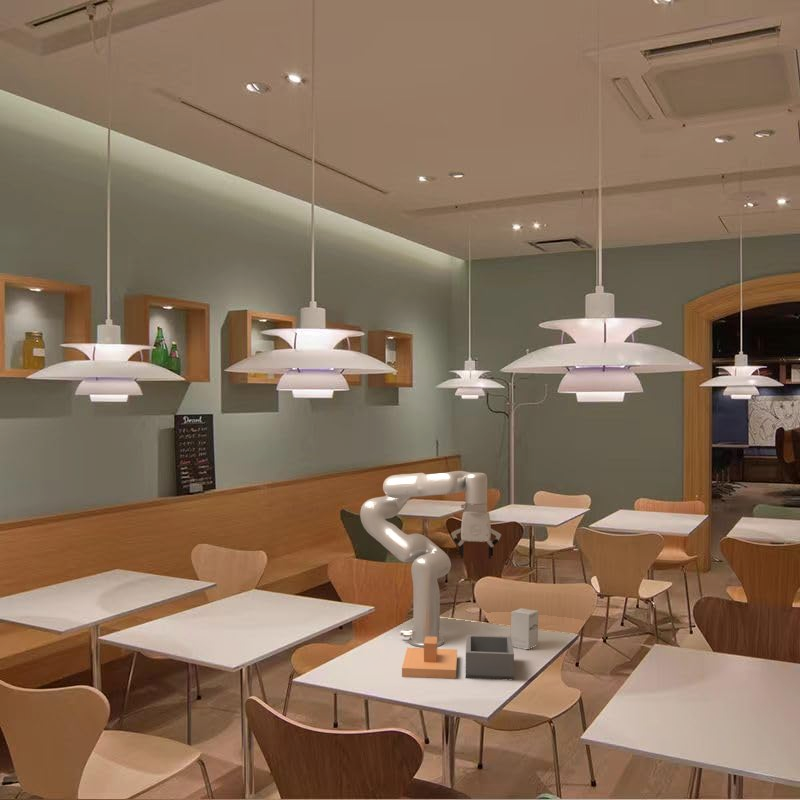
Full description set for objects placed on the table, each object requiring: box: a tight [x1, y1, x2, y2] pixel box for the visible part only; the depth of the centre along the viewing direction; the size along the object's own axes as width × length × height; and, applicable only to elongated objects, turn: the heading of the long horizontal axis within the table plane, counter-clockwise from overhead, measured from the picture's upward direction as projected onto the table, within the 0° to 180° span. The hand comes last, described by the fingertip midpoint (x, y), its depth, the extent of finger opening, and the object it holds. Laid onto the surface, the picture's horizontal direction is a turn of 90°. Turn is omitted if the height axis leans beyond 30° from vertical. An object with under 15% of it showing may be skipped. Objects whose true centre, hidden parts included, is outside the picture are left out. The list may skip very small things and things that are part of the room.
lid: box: [401, 636, 458, 680], centre depth 270 cm, size 17×22×9 cm
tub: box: [465, 634, 515, 681], centre depth 269 cm, size 15×20×8 cm
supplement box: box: [510, 607, 539, 650], centre depth 294 cm, size 7×7×13 cm
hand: (475, 557), depth 288 cm, fingers open, 9 cm apart
